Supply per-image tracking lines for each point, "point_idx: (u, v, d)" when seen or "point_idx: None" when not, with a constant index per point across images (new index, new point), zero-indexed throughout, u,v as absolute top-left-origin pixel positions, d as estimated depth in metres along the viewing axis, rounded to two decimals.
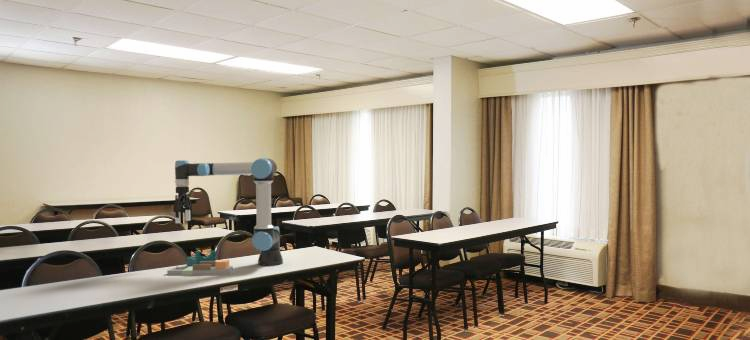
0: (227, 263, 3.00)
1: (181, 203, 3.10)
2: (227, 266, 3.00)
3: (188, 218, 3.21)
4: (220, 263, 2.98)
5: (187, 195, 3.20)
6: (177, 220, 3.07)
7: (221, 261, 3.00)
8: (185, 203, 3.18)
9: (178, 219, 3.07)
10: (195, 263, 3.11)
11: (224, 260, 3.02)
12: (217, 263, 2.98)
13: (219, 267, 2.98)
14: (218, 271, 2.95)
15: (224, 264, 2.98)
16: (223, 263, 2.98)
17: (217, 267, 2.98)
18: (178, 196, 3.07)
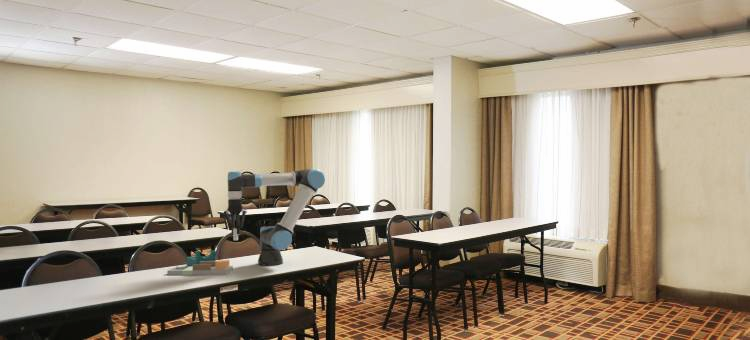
0: (227, 263, 3.00)
1: (232, 218, 2.99)
2: (227, 266, 3.00)
3: None
4: (220, 263, 2.98)
5: (243, 211, 2.99)
6: None
7: (221, 261, 3.00)
8: None
9: None
10: (195, 263, 3.11)
11: (224, 260, 3.02)
12: (217, 263, 2.98)
13: (219, 267, 2.98)
14: (218, 271, 2.95)
15: (224, 264, 2.98)
16: (223, 263, 2.98)
17: (217, 267, 2.98)
18: (224, 213, 3.00)
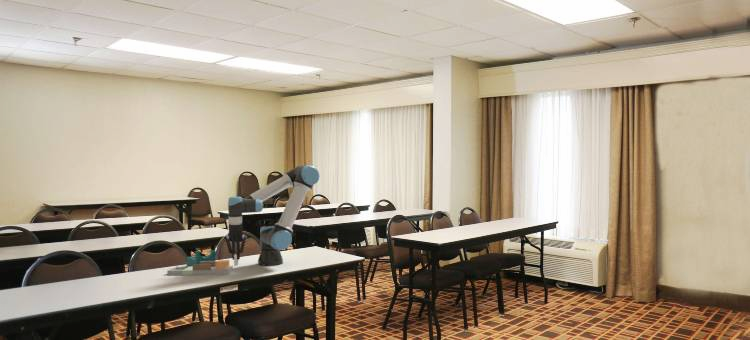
0: (227, 263, 3.00)
1: (233, 243, 2.99)
2: (227, 266, 3.00)
3: None
4: (220, 263, 2.98)
5: (244, 237, 2.99)
6: None
7: (221, 261, 3.00)
8: None
9: None
10: (195, 263, 3.11)
11: (224, 260, 3.02)
12: (217, 263, 2.98)
13: (219, 267, 2.98)
14: (218, 271, 2.95)
15: (224, 264, 2.98)
16: (223, 263, 2.98)
17: (217, 267, 2.98)
18: None
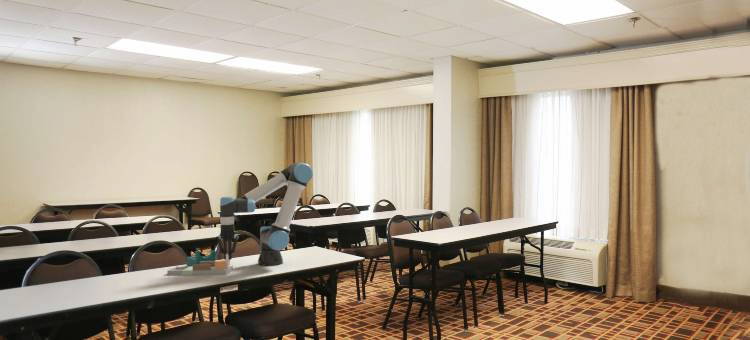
0: None
1: (224, 243, 2.99)
2: (226, 266, 3.00)
3: None
4: (219, 263, 2.98)
5: (235, 237, 2.99)
6: None
7: (220, 261, 2.99)
8: None
9: None
10: (195, 263, 3.11)
11: (223, 260, 3.02)
12: (216, 263, 2.98)
13: (218, 267, 2.98)
14: (218, 271, 2.95)
15: (223, 264, 2.98)
16: (223, 263, 2.98)
17: (216, 267, 2.98)
18: None
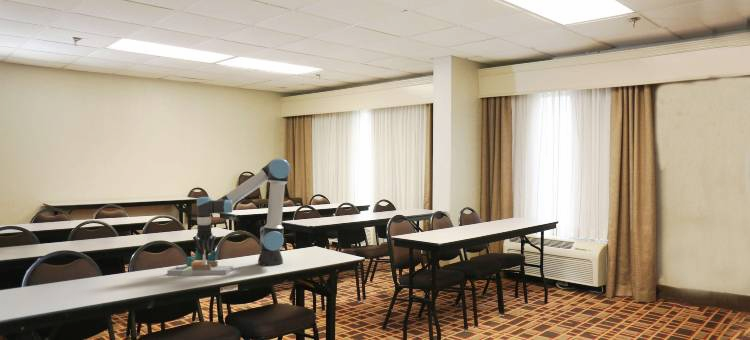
0: None
1: (201, 243, 3.00)
2: None
3: None
4: (196, 263, 2.98)
5: (212, 237, 3.00)
6: None
7: (197, 261, 3.00)
8: None
9: None
10: None
11: (200, 260, 3.03)
12: (193, 263, 2.98)
13: None
14: (218, 271, 2.95)
15: (200, 264, 2.98)
16: (199, 263, 2.98)
17: None
18: None
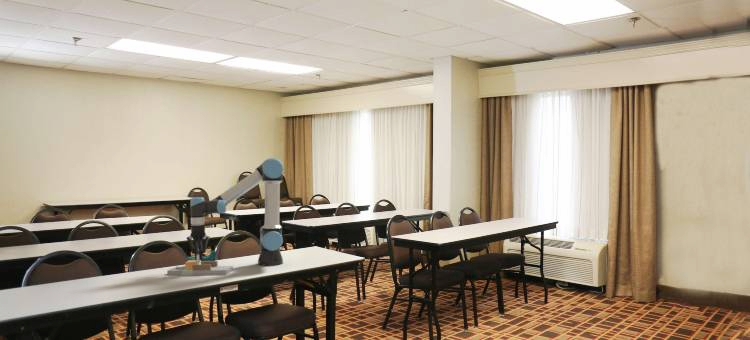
0: None
1: (195, 244, 3.00)
2: None
3: None
4: (190, 263, 2.99)
5: None
6: None
7: (191, 261, 3.00)
8: None
9: None
10: None
11: (194, 260, 3.03)
12: (187, 263, 2.99)
13: (189, 267, 2.99)
14: (218, 271, 2.95)
15: (194, 264, 2.98)
16: (193, 264, 2.98)
17: (187, 267, 2.99)
18: None
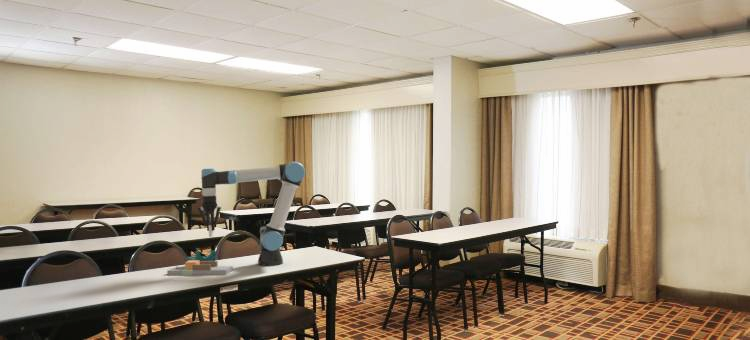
0: (197, 263, 3.01)
1: (207, 214, 3.02)
2: None
3: None
4: (190, 263, 2.99)
5: None
6: None
7: (191, 261, 3.00)
8: None
9: None
10: None
11: (194, 260, 3.03)
12: (187, 263, 2.99)
13: (189, 267, 2.99)
14: (218, 271, 2.95)
15: (194, 264, 2.98)
16: (193, 264, 2.98)
17: (187, 267, 2.99)
18: None
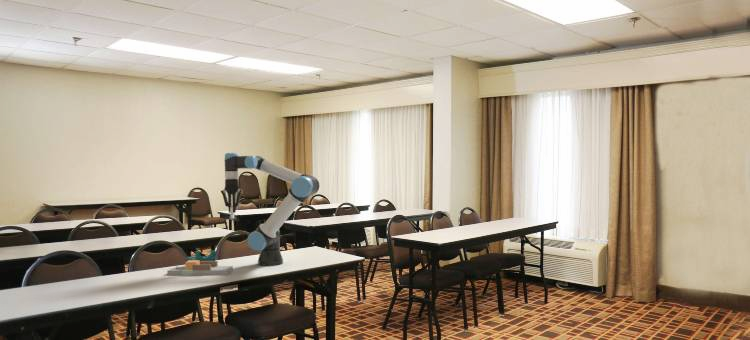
0: (197, 263, 3.01)
1: (229, 197, 3.15)
2: None
3: None
4: (190, 263, 2.99)
5: (239, 191, 3.15)
6: None
7: (191, 261, 3.00)
8: None
9: None
10: None
11: (194, 260, 3.03)
12: (187, 263, 2.99)
13: (189, 267, 2.99)
14: (218, 271, 2.95)
15: (194, 264, 2.98)
16: (193, 264, 2.98)
17: (187, 267, 2.99)
18: None
